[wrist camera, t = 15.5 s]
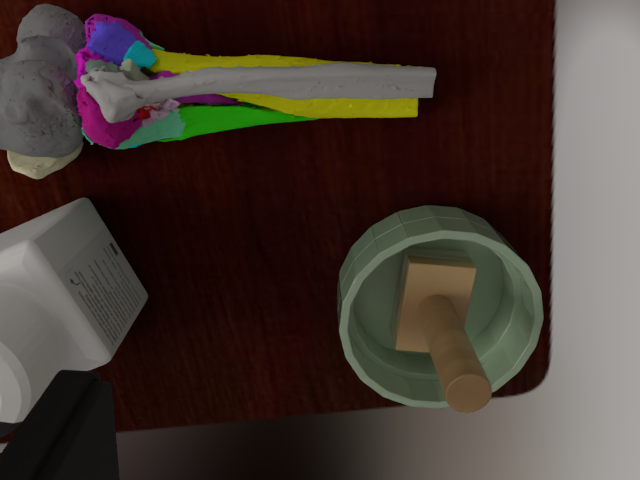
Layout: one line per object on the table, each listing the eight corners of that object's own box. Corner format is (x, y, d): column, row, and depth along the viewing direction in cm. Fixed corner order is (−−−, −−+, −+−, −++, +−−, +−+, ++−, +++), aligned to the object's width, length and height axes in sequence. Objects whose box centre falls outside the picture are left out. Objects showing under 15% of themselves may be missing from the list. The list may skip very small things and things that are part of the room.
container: (52, 337, 38) (-73, 486, 26) (-17, 240, 35) (-191, 355, 23) (151, 296, 37) (70, 432, 25) (88, 193, 34) (-37, 289, 22)
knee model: (389, 105, 37) (-8, 132, 34) (404, -22, 31) (-74, -1, 28) (428, 195, 31) (-56, 238, 28) (456, 58, 25) (-152, 94, 22)
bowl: (347, 194, 34) (351, 222, 30) (532, 210, 35) (565, 240, 30) (329, 354, 38) (330, 401, 34) (493, 367, 39) (518, 414, 34)
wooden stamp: (403, 245, 35) (437, 335, 25) (466, 250, 35) (525, 342, 25) (389, 328, 37) (416, 442, 27) (449, 332, 37) (497, 447, 27)
